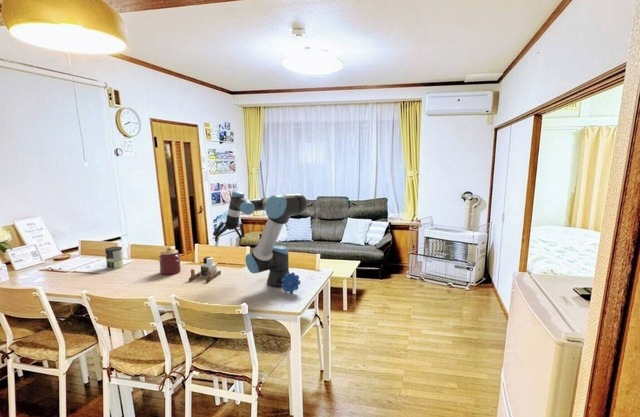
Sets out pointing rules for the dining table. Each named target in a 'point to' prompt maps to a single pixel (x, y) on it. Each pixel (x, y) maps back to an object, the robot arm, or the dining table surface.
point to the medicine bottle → (208, 266)
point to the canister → (169, 262)
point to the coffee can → (114, 257)
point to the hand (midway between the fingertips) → (226, 246)
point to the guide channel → (194, 276)
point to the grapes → (290, 282)
